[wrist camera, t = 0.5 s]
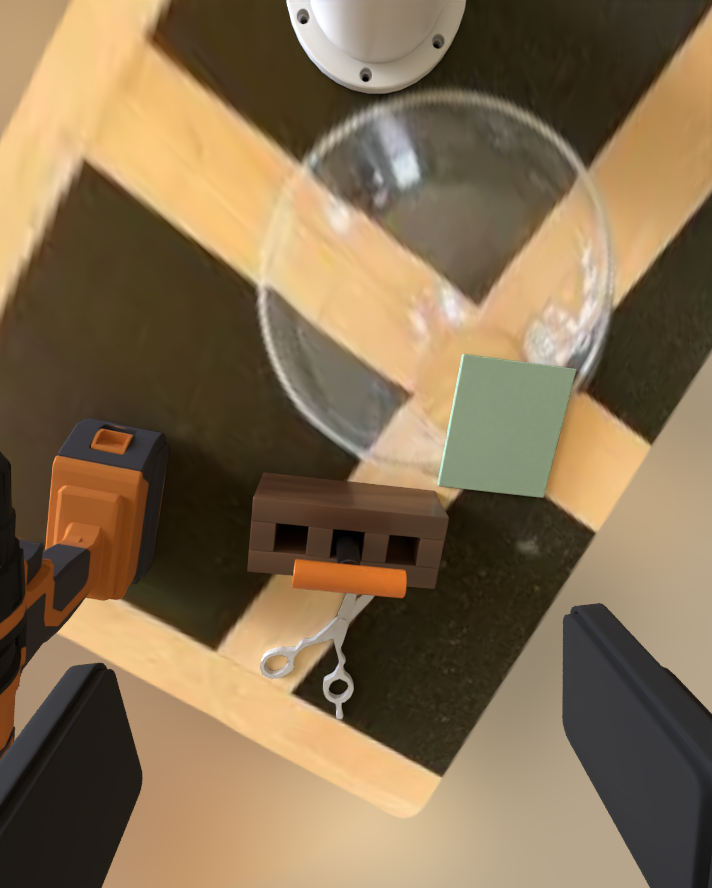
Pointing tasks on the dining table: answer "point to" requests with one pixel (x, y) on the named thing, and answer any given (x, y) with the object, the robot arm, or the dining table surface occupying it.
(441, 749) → the dining table surface
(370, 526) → the rack
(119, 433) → the power drill
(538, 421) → the mat
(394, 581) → the t handle
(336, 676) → the scissors
